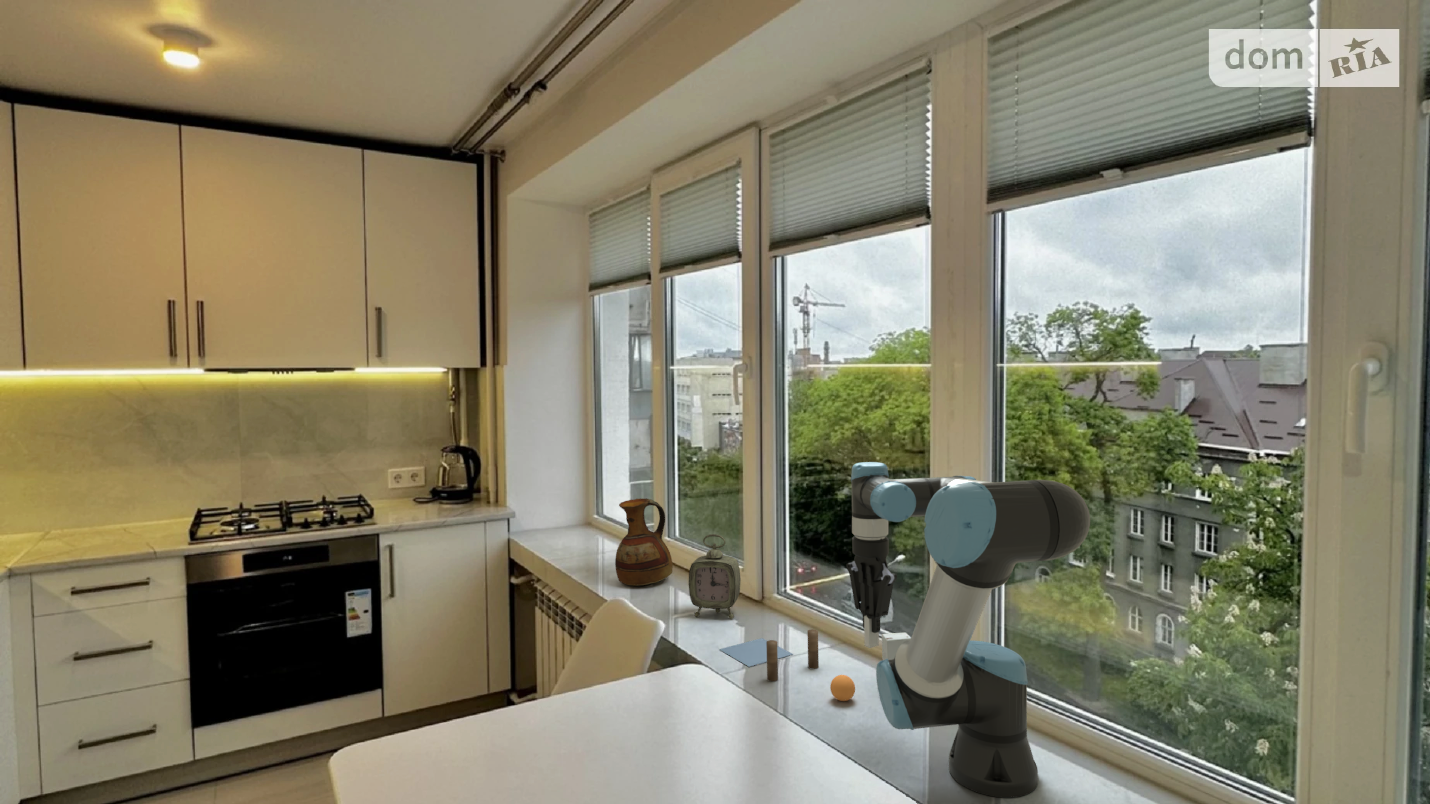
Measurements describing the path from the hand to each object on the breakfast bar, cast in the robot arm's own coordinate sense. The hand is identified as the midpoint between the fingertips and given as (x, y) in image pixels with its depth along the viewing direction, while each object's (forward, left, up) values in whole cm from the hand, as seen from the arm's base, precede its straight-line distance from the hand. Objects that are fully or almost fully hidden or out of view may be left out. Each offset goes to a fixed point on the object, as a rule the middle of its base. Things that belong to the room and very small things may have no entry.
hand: (871, 645), depth 156 cm
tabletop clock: (+74, -7, -16) cm, 76 cm away
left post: (+27, +6, -15) cm, 32 cm away
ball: (+9, 0, -13) cm, 16 cm away
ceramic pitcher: (+119, -5, -16) cm, 120 cm away
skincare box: (+7, -15, -16) cm, 23 cm away
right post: (+27, -6, -15) cm, 32 cm away
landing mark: (+43, 0, -15) cm, 46 cm away
